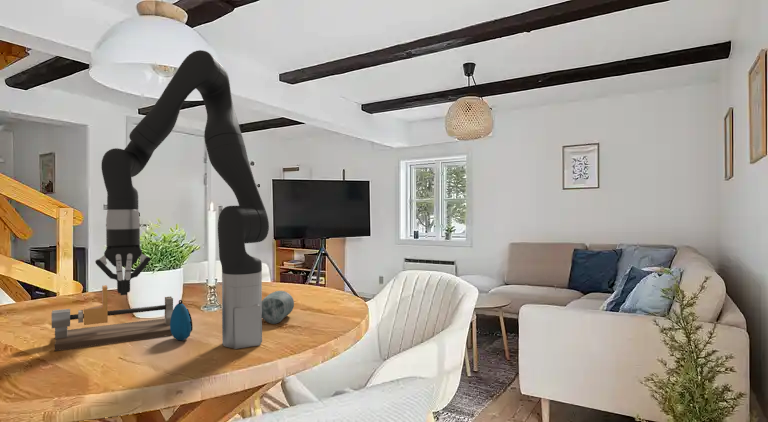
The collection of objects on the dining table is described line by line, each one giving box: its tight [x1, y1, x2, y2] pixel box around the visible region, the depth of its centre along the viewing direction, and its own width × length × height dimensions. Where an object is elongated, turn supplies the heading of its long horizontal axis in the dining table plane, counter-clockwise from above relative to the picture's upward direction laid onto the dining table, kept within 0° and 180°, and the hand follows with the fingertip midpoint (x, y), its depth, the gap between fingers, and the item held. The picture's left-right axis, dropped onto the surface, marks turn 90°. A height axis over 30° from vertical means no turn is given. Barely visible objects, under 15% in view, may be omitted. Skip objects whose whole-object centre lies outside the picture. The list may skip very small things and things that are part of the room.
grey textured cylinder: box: [262, 290, 295, 325], centre depth 136 cm, size 14×10×10 cm
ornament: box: [170, 299, 194, 341], centre depth 116 cm, size 8×5×10 cm, turn 41°
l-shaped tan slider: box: [83, 284, 109, 326], centre depth 117 cm, size 4×5×9 cm
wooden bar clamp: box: [51, 295, 174, 352], centre depth 120 cm, size 14×27×8 cm, turn 123°
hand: (123, 294), depth 120 cm, fingers closed
